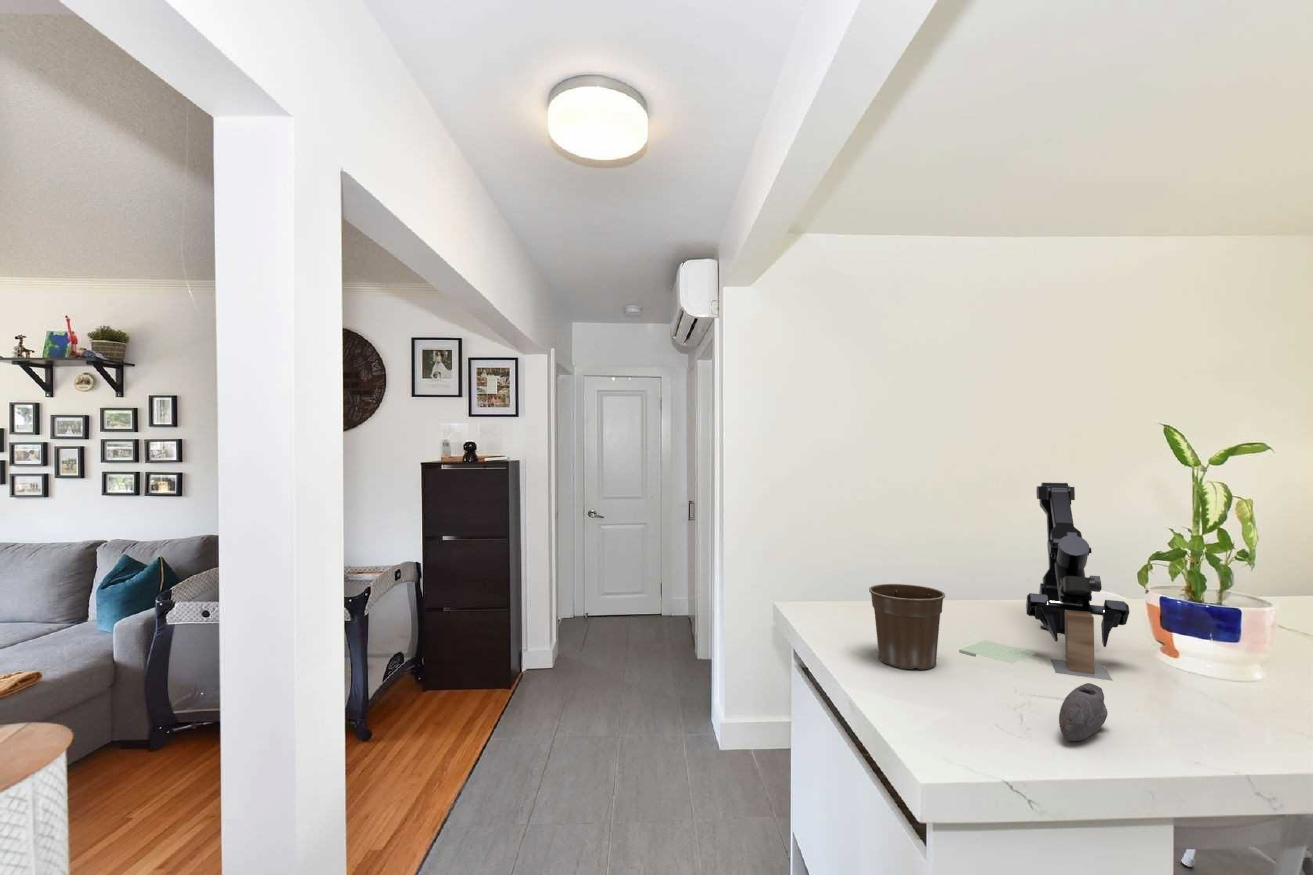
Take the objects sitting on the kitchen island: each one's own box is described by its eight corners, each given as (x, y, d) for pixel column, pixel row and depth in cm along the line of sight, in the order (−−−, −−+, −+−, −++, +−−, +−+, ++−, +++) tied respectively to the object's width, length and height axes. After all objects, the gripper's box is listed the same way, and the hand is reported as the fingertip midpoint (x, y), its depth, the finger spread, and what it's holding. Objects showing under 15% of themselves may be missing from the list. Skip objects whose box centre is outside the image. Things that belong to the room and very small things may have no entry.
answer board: (984, 642, 153) (984, 640, 153) (1036, 655, 143) (1036, 653, 143) (959, 652, 146) (959, 649, 146) (1012, 666, 136) (1012, 663, 136)
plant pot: (883, 645, 151) (883, 579, 152) (954, 659, 141) (953, 589, 142) (859, 663, 139) (858, 592, 139) (934, 680, 129) (933, 603, 129)
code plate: (1049, 660, 140) (1049, 658, 140) (1103, 667, 135) (1103, 664, 135) (1055, 675, 131) (1055, 672, 131) (1113, 683, 126) (1113, 680, 126)
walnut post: (1065, 663, 136) (1064, 609, 136) (1090, 666, 134) (1089, 611, 134) (1068, 670, 132) (1067, 614, 132) (1094, 673, 130) (1093, 617, 130)
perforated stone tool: (1082, 753, 98) (1081, 709, 98) (1045, 740, 102) (1045, 698, 102) (1114, 726, 107) (1113, 686, 107) (1079, 716, 111) (1078, 678, 111)
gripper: (1026, 557, 141) (1032, 618, 131) (1126, 564, 133) (1141, 629, 123) (1023, 585, 148) (1029, 644, 138) (1118, 593, 140) (1131, 656, 130)
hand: (1080, 643), depth 132 cm, fingers open, 8 cm apart
